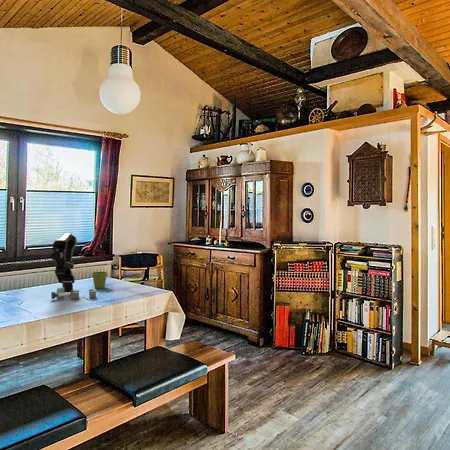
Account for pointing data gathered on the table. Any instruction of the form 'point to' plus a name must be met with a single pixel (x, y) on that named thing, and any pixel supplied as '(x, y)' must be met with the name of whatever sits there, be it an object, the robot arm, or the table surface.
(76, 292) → the cradle rig
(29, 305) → the table surface
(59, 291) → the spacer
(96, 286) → the plant pot
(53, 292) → the shaft
